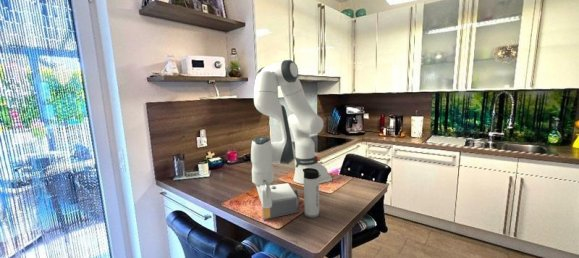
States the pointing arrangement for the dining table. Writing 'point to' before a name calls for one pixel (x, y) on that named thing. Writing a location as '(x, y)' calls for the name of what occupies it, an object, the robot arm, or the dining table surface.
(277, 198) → the white box with hole
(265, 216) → the side door
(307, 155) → the robot arm
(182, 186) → the dining table surface
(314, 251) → the dining table surface
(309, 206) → the travel mug
